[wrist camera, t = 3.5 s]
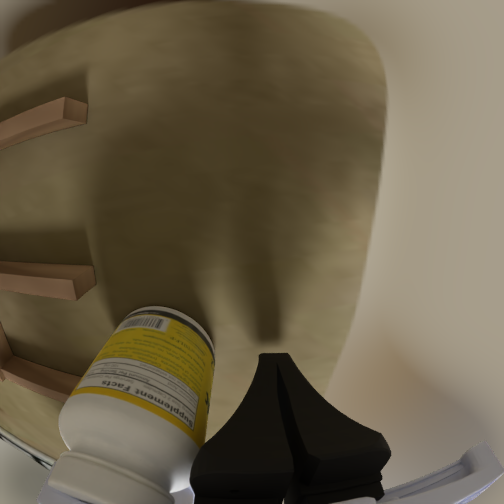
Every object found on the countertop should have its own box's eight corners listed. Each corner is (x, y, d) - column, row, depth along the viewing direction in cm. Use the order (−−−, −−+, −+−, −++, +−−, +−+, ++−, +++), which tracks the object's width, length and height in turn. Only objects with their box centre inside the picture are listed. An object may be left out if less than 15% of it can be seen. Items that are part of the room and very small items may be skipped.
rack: (127, 396, 15) (114, 423, 12) (11, 362, 14) (-4, 378, 12) (87, 104, 10) (58, 94, 7) (-31, 150, 10) (-54, 152, 7)
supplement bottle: (182, 397, 14) (148, 542, 5) (106, 345, 13) (22, 477, 4) (239, 346, 13) (231, 538, 4) (150, 280, 12) (28, 448, 3)
